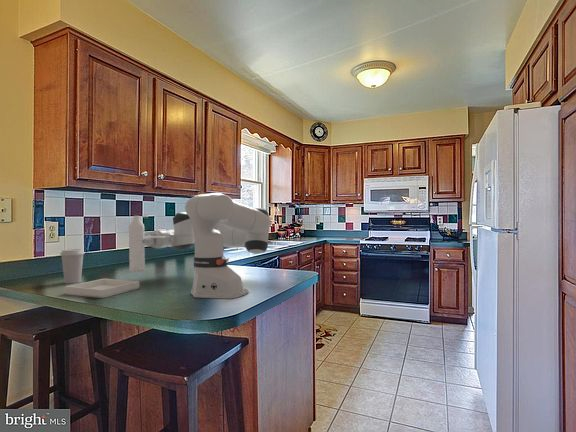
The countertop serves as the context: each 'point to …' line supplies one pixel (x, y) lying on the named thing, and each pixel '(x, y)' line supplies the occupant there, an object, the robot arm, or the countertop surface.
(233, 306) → the countertop surface
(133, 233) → the water bottle
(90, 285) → the tray
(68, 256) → the coffee cup
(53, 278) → the countertop surface
